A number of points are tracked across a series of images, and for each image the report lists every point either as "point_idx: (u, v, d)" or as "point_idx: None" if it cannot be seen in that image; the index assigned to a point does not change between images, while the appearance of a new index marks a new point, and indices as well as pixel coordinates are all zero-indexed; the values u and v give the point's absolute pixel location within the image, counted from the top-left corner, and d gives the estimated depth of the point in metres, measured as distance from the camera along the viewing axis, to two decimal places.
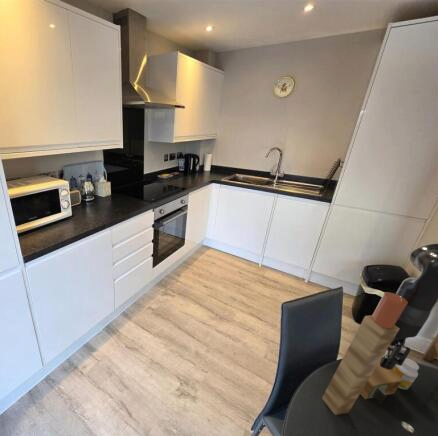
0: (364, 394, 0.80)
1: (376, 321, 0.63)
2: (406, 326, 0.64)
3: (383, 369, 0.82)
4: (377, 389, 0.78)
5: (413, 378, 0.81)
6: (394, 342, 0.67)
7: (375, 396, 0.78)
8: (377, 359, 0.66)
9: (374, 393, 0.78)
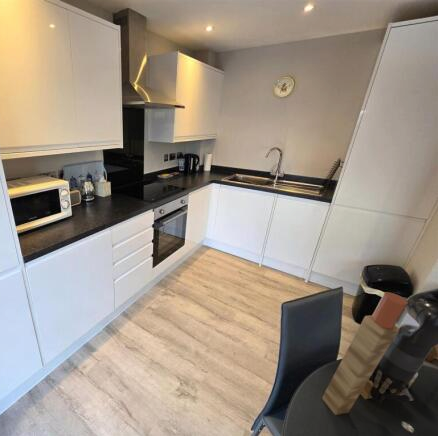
0: (364, 394, 0.80)
1: (376, 321, 0.63)
2: (412, 374, 0.67)
3: None
4: None
5: (413, 378, 0.81)
6: (402, 389, 0.69)
7: None
8: (377, 359, 0.66)
9: None
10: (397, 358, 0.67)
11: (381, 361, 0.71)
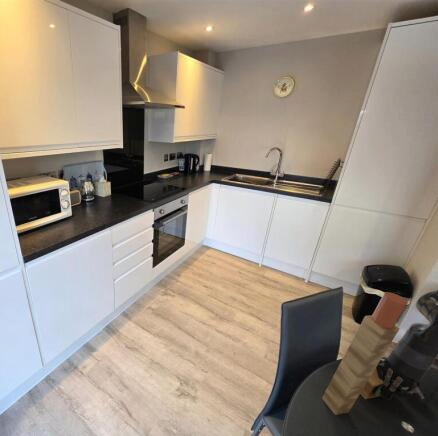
0: (364, 394, 0.80)
1: (376, 321, 0.63)
2: (424, 372, 0.67)
3: None
4: None
5: None
6: (413, 387, 0.69)
7: (381, 395, 0.79)
8: (377, 359, 0.66)
9: (380, 392, 0.79)
10: (408, 356, 0.68)
11: (392, 359, 0.72)
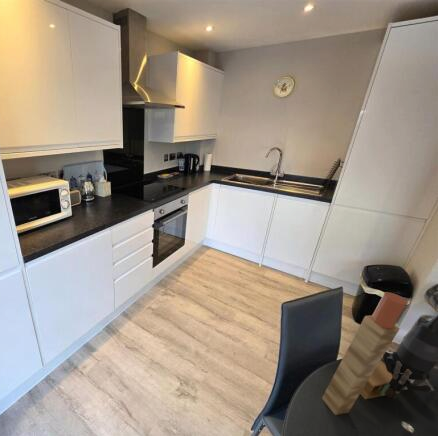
0: (364, 394, 0.80)
1: (376, 321, 0.63)
2: (433, 364, 0.67)
3: (383, 369, 0.82)
4: (389, 387, 0.78)
5: None
6: (422, 379, 0.69)
7: (387, 394, 0.79)
8: (377, 359, 0.66)
9: (386, 391, 0.79)
10: (417, 348, 0.67)
11: (400, 352, 0.72)
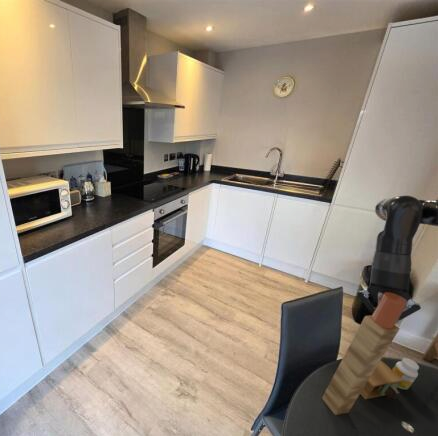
0: (364, 394, 0.80)
1: (376, 321, 0.63)
2: (409, 277, 0.64)
3: (383, 369, 0.82)
4: (389, 387, 0.78)
5: (413, 378, 0.81)
6: (408, 300, 0.64)
7: (387, 394, 0.79)
8: (377, 359, 0.66)
9: (386, 391, 0.79)
10: (395, 264, 0.63)
11: (380, 278, 0.66)
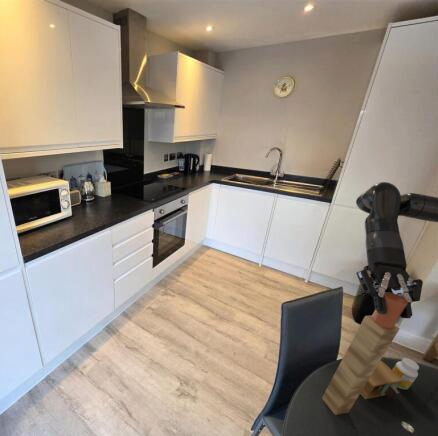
0: (364, 394, 0.80)
1: (376, 321, 0.63)
2: None
3: (383, 369, 0.82)
4: (389, 387, 0.78)
5: (413, 378, 0.81)
6: (408, 279, 0.63)
7: (387, 394, 0.79)
8: (377, 359, 0.66)
9: (386, 391, 0.79)
10: (397, 240, 0.64)
11: (388, 255, 0.63)
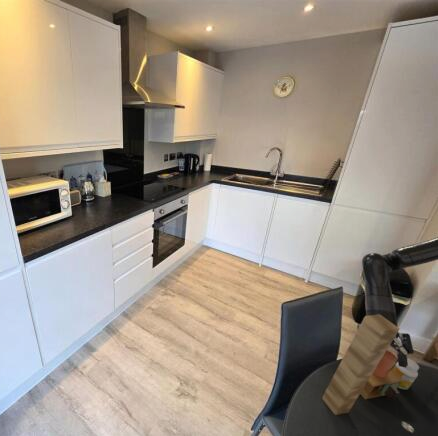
0: (364, 394, 0.80)
1: None
2: None
3: None
4: (389, 387, 0.78)
5: (413, 378, 0.81)
6: (398, 336, 0.80)
7: (387, 394, 0.79)
8: (377, 359, 0.66)
9: (386, 391, 0.79)
10: (390, 305, 0.81)
11: None
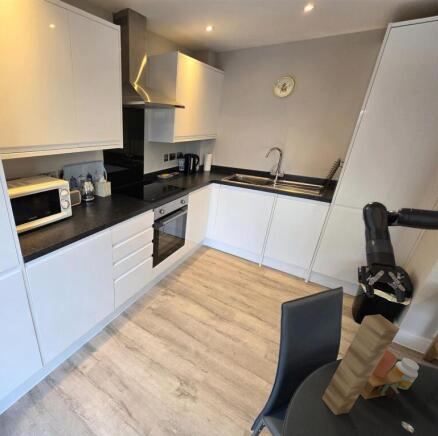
0: (364, 394, 0.80)
1: None
2: None
3: None
4: (389, 387, 0.78)
5: (413, 378, 0.81)
6: (396, 275, 0.85)
7: (387, 394, 0.79)
8: (377, 359, 0.66)
9: (386, 391, 0.79)
10: (389, 247, 0.86)
11: (382, 258, 0.85)
